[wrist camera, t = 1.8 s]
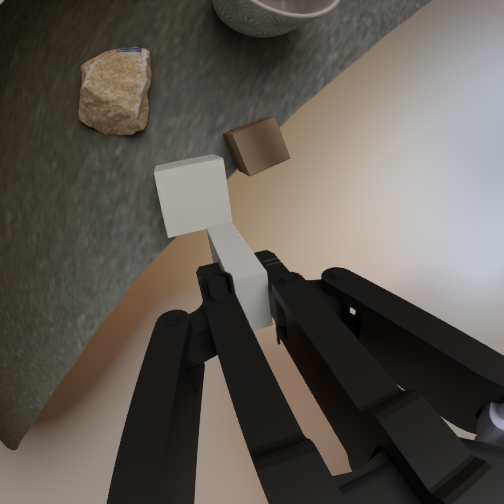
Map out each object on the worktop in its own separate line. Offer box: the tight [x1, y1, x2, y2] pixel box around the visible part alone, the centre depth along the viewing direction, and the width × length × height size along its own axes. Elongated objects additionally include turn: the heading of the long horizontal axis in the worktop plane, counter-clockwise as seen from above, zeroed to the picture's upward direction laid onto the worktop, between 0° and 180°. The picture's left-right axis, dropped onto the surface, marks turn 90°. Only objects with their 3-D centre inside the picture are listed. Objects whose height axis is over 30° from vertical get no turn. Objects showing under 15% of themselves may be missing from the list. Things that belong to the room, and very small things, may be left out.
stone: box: [78, 47, 152, 136], centre depth 25 cm, size 8×10×4 cm
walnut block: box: [223, 117, 290, 176], centre depth 32 cm, size 5×5×5 cm
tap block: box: [154, 154, 233, 238], centre depth 31 cm, size 7×7×6 cm
